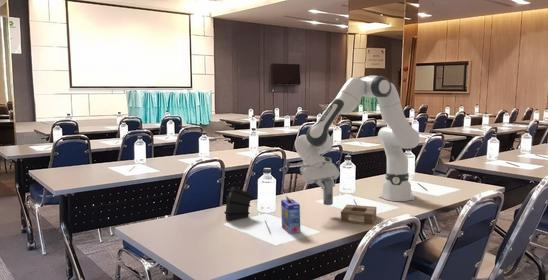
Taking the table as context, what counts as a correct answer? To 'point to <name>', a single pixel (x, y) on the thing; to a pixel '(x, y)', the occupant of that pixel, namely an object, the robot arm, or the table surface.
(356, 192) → the table surface
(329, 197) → the barrel peg
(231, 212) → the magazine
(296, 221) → the ink cartridge box
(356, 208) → the socket block
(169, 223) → the table surface
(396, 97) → the robot arm
